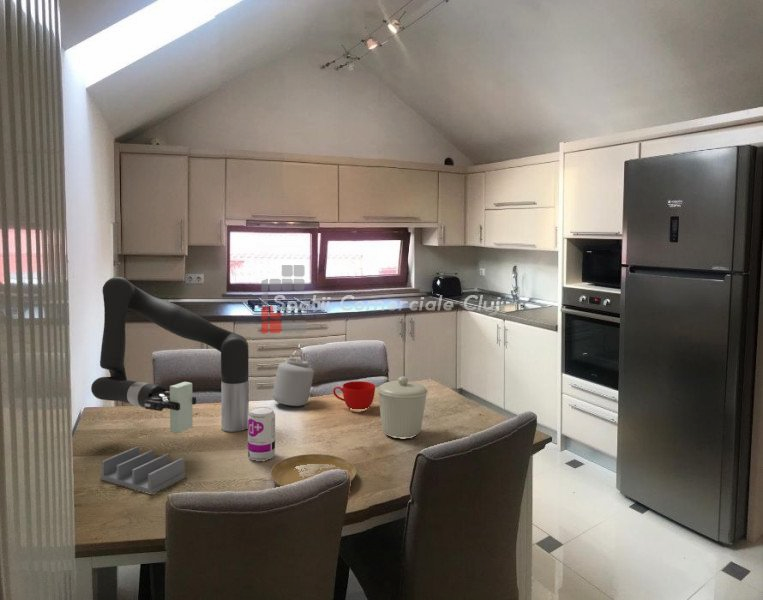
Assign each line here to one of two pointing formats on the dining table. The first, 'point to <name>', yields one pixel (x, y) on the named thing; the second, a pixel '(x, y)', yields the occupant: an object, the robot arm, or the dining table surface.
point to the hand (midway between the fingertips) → (187, 403)
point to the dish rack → (142, 470)
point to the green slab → (181, 407)
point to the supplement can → (261, 433)
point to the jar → (293, 382)
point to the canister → (402, 407)
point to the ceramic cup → (357, 394)
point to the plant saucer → (287, 475)
